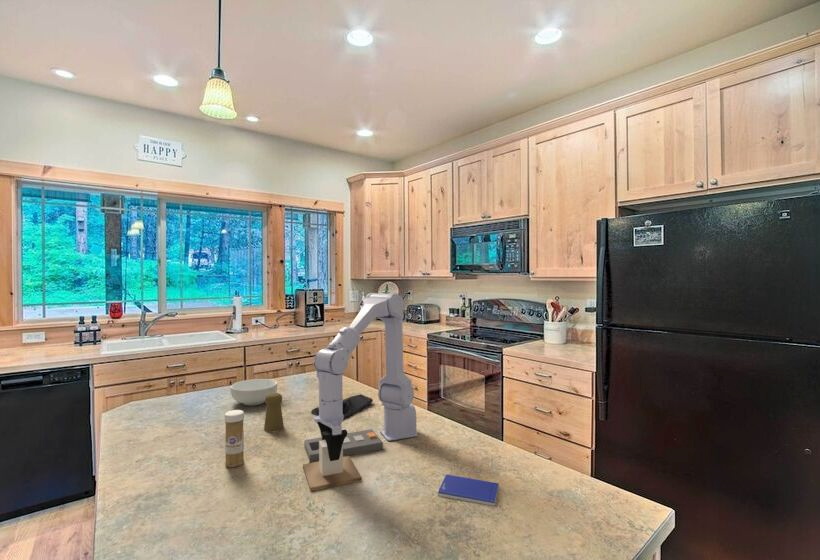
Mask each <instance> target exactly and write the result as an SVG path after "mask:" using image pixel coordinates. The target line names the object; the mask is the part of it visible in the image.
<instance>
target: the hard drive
mask: <svg viewBox="0 0 820 560" xmlns="http://www.w3.org/2000/svg"><path fill="white" fill-rule="evenodd" d="M498 491H499V482H493V481H487V480H482V479H475V478H471V477H466V476H458V475H453V474H447V473H446V474H445V475H444V478H443V480H442V482H441V484H440V486H439V488H438V490H437V496H438V497H442V498H449V499H455V500H460V501H466V502H471V503H476V504H483V505H489V506H495V505H496V501H497V495H498Z"/></svg>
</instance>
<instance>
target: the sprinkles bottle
mask: <svg viewBox="0 0 820 560" xmlns="http://www.w3.org/2000/svg"><path fill="white" fill-rule="evenodd" d="M244 419H245V412H244V410H241V409H233V410H229V411H227V412H225V413H224V422H225V440H224V444H225V446H224V447H225V448H224V451H225V452H224V453H225V463H224V464H225V466H226V467H228V468H236V467H240V466H241V465H243V464H244V463H245V459H244V451H245V450H244V448H245V445H244V443H245V441H244V440H245V439H244V438H245V437H244V435H245V434H244Z"/></svg>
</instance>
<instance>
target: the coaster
mask: <svg viewBox="0 0 820 560" xmlns="http://www.w3.org/2000/svg"><path fill="white" fill-rule="evenodd" d="M302 469H303V472H304V476H305V479H306V482H307V485H308V488H309V492H313V491H314V492H315V491H319V490H323V489H328V488H333V487H337V486H342V485H346V484H351V483H356V482H361V481H362V479H363V478H362V476H361V473H360V472H359V470H358V469H357V467H356V465H355V463H354V462H353V460H352V458H351V455H349V456H343V472H341V473H337V474H332V475H327V476H322V474H321V472H320V469H319V461H316V462H308V463H303V464H302Z"/></svg>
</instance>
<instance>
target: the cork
mask: <svg viewBox="0 0 820 560" xmlns="http://www.w3.org/2000/svg"><path fill="white" fill-rule="evenodd" d="M264 403H265V405H266V410H265V419H264V426H263V431H264V432H267V433H274V432H275V433H276V432H279V431H282V430H283V429H285V425H284V418H283V413H282V405H281V404H282V403H283V396H282V394H281V393H280V392H276V393H271V394H268V395H267V396H266V398H265V402H264Z"/></svg>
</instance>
